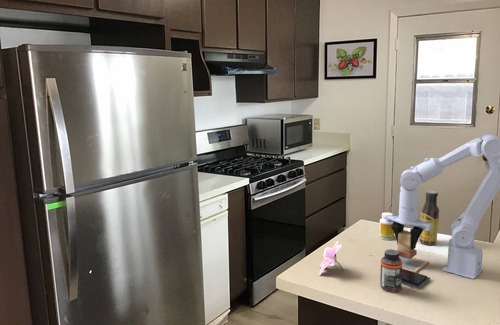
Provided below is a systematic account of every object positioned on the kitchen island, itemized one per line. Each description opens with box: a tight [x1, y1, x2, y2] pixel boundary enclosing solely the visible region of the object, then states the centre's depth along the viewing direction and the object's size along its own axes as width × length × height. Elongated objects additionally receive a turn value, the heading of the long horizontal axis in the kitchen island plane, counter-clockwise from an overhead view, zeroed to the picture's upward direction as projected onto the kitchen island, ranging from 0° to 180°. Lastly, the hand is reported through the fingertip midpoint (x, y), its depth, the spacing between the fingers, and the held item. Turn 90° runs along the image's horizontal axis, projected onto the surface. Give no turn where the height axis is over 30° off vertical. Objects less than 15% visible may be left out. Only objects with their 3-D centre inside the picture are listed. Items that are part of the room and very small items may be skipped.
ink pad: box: [401, 269, 432, 290], centre depth 132 cm, size 10×8×1 cm
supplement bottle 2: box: [379, 248, 402, 293], centre depth 126 cm, size 6×6×11 cm
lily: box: [319, 240, 345, 276], centre depth 139 cm, size 12×12×10 cm
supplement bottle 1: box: [378, 211, 395, 241], centre depth 167 cm, size 5×5×10 cm
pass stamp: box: [395, 229, 418, 259], centre depth 143 cm, size 5×5×8 cm
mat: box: [399, 256, 430, 273], centre depth 144 cm, size 11×11×1 cm
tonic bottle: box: [418, 189, 440, 246], centre depth 160 cm, size 6×6×20 cm
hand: (406, 246), depth 143 cm, fingers closed on pass stamp, 4 cm apart
